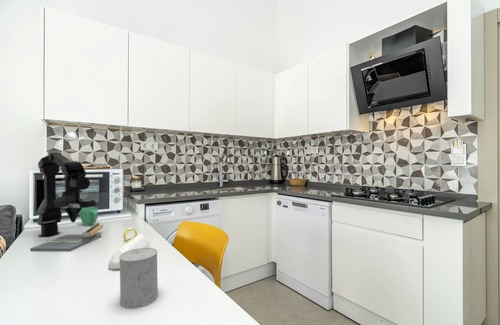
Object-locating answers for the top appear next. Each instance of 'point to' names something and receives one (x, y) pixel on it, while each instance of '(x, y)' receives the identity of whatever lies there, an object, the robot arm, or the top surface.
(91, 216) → the mug
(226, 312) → the top surface
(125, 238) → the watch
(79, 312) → the top surface
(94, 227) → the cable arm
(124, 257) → the grey concrete cylinder
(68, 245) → the panel
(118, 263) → the white long bar
